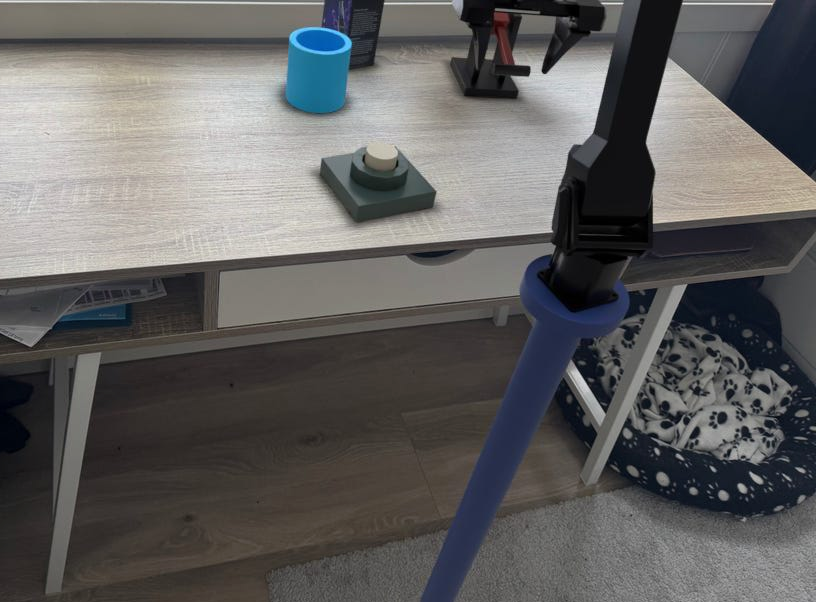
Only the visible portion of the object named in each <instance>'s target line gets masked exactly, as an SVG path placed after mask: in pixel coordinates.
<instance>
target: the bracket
mask: <svg viewBox="0 0 816 602" xmlns="http://www.w3.org/2000/svg"><path fill="white" fill-rule="evenodd" d="M507 14H508V17H509V21H510V22H509V25H508V27H507V30H506V33H507V37H508V41H509V44H510V48H511V51H512V53H513V51H514V49H515V45H516V41H517V37H518V34H519V30H520V27H521V23H522V20H523V16H522V14H510V13H507ZM493 19H494V16H493V18H492V19H491V20H490V21H489V22H490V23H491V25H492V23H493ZM449 64H450V67H451V69H452V72H453V74H454V76H455V79H456V81H457V83H458V85H459V87H460V89H461V92H462V94H463V96H465V97H480V98H481V97H482V98H483V97H485V98H500V99H501V98H502V99H518V96H519V92H520V90H519V89H518V87H517V85H516V83H515V82H514V80H513V78H512V76H505V75H492V65H493V64H504V63H503V59H502V55H501V52H500V48H499V44H498V41H497V42H496V46H495V50H494V54H493V58H492V59H488V58H487V59H486V58H485V60H484V63H483V65H482V68H481V70H477V68H476V62H475V50H474V39H473V34H472V36H471V39H470V44H469V48H468V53H467V57H458V56H457V57H455V56H452V57H451V59H450V63H449Z"/></svg>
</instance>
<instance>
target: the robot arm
mask: <svg viewBox="0 0 816 602" xmlns="http://www.w3.org/2000/svg"><path fill="white" fill-rule="evenodd" d="M683 3H684V0H623V1H622V7H621V10H620V15H619V19H618V24H617V28H616V33H615V37H614V42H613V47H612V49H611V54H610V59H609V63H608V68H607V72H606V76H605V80H604V85H603V89H602V94H601V98H600V102H599V107H598V110H597V116H596V119H595V124H594V128H593V131H592V133H591V134H590V135H589V137H588V138H587V139H586V140H585V141H584V142H583V143H582V144H577V143H576V144H575V143H574V144H573V145H571V148H570V149H569V151H568V152H567V159H566V166H565V170H564V174H563V176H562V178H561V181H560V184H559V186H558V189H557V194H556V199H555V205H554V209H553V215H552V220H551V231H552V235H551V238H550V242H551V245H553V246H554V250H553V252H552V254H553V255H552V257H551V260H550V262H549V266H550V268H548V269H544V270H540V271H538V273H537V277H538V278H539V279H540V280H541V281H542V282H543V283H544V284H545V285H546V287H547V288H548V289H549V290H550V291H551V292H552V293H553V294H554V295H555V296H556V297H557V298H558V299H559V300H560V301H561V303H562V304H563V305H564V306H565V307H566V308H567V309H568V310H569V311H570V312H572V313H576V312H580V311H583V310H587V309H590V308H594V307H597V306H601V305H604V304H608V303H611V302H615V301H617V300H618V298H619V295H618V294H617V293H616V292H615V291H614V290H613V288H614V286H615V284H616V282H617V280H618V278H619V279H620V276H621V274H622V272H623V270H624V268H625V266H626V264H627V262H628V259H629V258H638V259H644V258H645V257H646V256H647V255H648V254H649V253H650V252H651V251H652V250H653V248H654V192H653V191H654V185H655V180H656V168H655V165H654V161H653V159H652V157H651V153H650V150H649V148H648V145H647V142H648V136H649V131H650V128H651V124H652V120H653V116H654V113H655V108H656V105H657V101H658V98H659V94H660V90H661V86H662V82H663V78H664V74H665V71H666V68H667V63H668V59H669V56H670V52H671V48H672V45H673V41H674V37H675V34H676V30H677V25H678V21H679V18H680V14H681V10H682V6H683ZM451 5H452V7H453V10H454V11H455V13H456V15H457V17H458V19H459V21H461V22H464V23H465V24H466V25H467V28H469V29H471V32H472V35H473V39H474V50H475V62H476V68H477V70H481V68H482V65H483V63H484V60H485V59H486V57H487V52H488V51H487V50H488V46H489V44H490V40H491V36H492V35H491V32H492V28H493V27H492V25H491V23H490V22H489V21H490V20H491V19H492V18H493V16H494V12H496V13H510V14H521V15H524V16H525V15H526V16H537V17H538V16H541V17H555V24H554V31H553V33H552V36H551V39H550V41H549V44H548V47H547V50H546V52H545V54H544V55H545V56H544V59H543V61H542V65H541V68H540V70H541V73H542V74H543V75H547V74H548V73H549V72H550V70H552V69H553V68H554V67H555V65H556V64H558V62H559V61H560V60H561V59H562V58H563V57H564V56H565V54H567V53H568V51H569V50H571V49H572V48H573V47H574V46H575V45H576V44H577V43H579V42H580V41H581V40H582V39H583V38H589V37H590V36H591V34H592V32H601V31H602V30H603V29H604V27H605V24H606V20H607V17H608V16H607V15H608V14H607V9H606V7H605V6H604V4H603V3H602V2H601V1H600V0H452V1H451Z"/></svg>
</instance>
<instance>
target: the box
mask: <svg viewBox="0 0 816 602" xmlns="http://www.w3.org/2000/svg"><path fill="white" fill-rule="evenodd" d="M384 6H385V0H324V2H323V11H322V17H321V18H322V19H321V27H320V28H328V29H331V30H335V31H338V32H340V33H342V34H344V35H346V36H347V37H348V38H349V39H350V40H351V42H352V46H351V54H350V62H349V69H352V68H353V69H354V68H359V67H366V66H372V65H374V64H375V59H376V54H377V53H376V52H377V48H378V47H377V46H378V41H379V36H380V31H381V30H380V29H381V24H382V18H383V13H384Z"/></svg>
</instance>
